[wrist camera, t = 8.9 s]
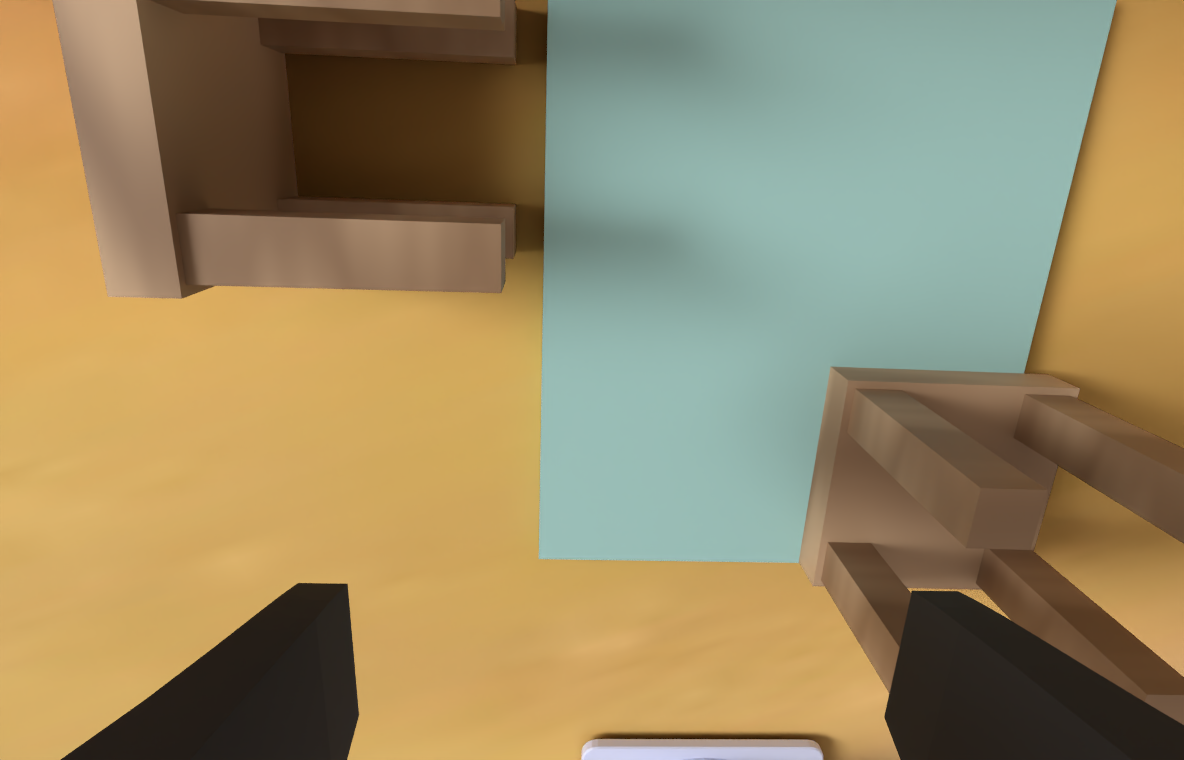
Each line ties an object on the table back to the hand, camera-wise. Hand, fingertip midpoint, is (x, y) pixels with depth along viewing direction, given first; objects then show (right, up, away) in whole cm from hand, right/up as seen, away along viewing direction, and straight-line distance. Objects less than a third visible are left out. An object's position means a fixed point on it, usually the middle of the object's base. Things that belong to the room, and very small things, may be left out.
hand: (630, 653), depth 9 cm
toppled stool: (-2, +9, +5) cm, 10 cm away
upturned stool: (+9, +1, +10) cm, 14 cm away
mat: (+5, +6, +9) cm, 12 cm away
